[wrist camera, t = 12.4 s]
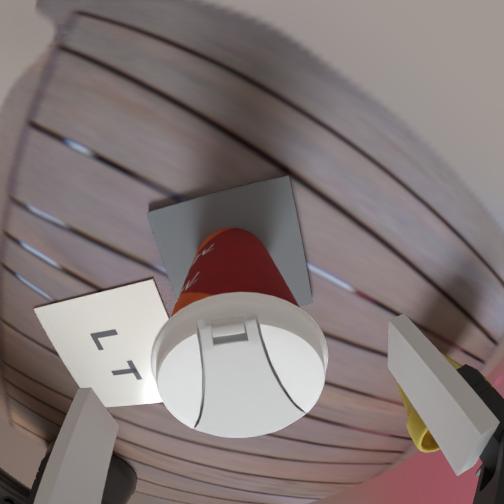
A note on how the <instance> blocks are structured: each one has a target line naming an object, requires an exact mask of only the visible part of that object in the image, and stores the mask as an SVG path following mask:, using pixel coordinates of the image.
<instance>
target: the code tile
mask: <svg viewBox="0 0 504 504" xmlns="http://www.w3.org/2000/svg"><path fill="white" fill-rule="evenodd" d="M34 311H35V313H36V315H37V317H38V319H39V320H40V322H41V324H42V326H43V328H44V330H45V332H46V333H47V335H48V337H49V339H50V341H51V342H52V344H53V346H54V347H55V349H56V351H57V352H58V354H59V356H60V357H61V359H62V361H63V362H64V364H65V365H66V367H67V369H68V370H69V372H70V373H71V375H72V376H73V378H74V379H75V381H76V382H77V384H78V385H79V387H80V388H88V387H91V388H92V389H93V391H94V392H95V393H96V395H97V396H98V398H99V399H100V401H101V402H102V403H103V405H104V406H105V407H115V406H128V405H139V404H148V403H157V402H163V401H162V399H161V397H160V395H159V392H158V389H157V384H156V382H155V380H154V377H153V374H152V371H151V362H150V358H151V349H152V346H153V343H154V340H155V337H156V336H157V334H158V332H159V331H160V329H161V327H162V326H163V325H164V324H165V323H166V322H167V320H168V319H169V317H168V315H167V312H166V310H165V307H164V305H163V302H162V300H161V297H160V295H159V292H158V290H157V287H156V285H155V282H154V279H150V280H146V281H142V282H138V283H134V284H130V285H126V286H122V287H118V288H114V289H110V290H105V291H101V292H97V293H93V294H89V295H85V296H81V297H77V298H73V299H69V300H65V301H61V302H57V303H53V304H49V305H45V306H41V307H37V308H34Z"/></svg>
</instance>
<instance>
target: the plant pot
mask: <svg viewBox="0 0 504 504" xmlns="http://www.w3.org/2000/svg"><path fill="white" fill-rule="evenodd" d="M439 352H440V351H439ZM440 353H441V354H442V355H443V356H444V357H445V358H446V359H447V361H448V362H449V363H450V364H451V365H452V366H453V367H454V368H455V369H458V368H460V367H462V365H461V364H459V363H457V362H456V361H454V360H453V359H451V358H449V357H448V356H446V355H445V354H443V353H442V352H440ZM484 378H485V377H484ZM485 380H487V379H486V378H485ZM487 381H488V380H487ZM488 382H489V381H488ZM489 383H490V382H489ZM397 384H398V382H397ZM490 384H491V383H490ZM398 387H399V390H400V393H401V396H402V399H403V402H404V405H405V409H406V412H407V415H408V420H407V429H408V432H409V434H410V436H411V438H412V440H413V441H414V443H415V445H416V446H417V448H418V449H419V450H420V451H422V452H433V451H436V450H439V449H440V447H439V445H438V444H437V442H436V441H435V439H434V437H433V436H432V434H431V433H430V431H429V430H428V428H427V426H426V425H425V423H424V422H423V420H422V419H421V417H420V415H419V414H418V412H417V411H416V409H415V408H414V406H413V405H412V403H411V402H410V400H409V399H408V397H407V396H406V394H405V393H404V391H403V390H402V388H401V387H400V385H399V384H398ZM492 387H493V386H492Z"/></svg>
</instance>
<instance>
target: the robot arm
mask: <svg viewBox="0 0 504 504" xmlns="http://www.w3.org/2000/svg"><path fill="white" fill-rule="evenodd" d="M387 367H388V369H389V370H390V372H391V373H392V375H393V376H394V378H395V379H396V381H397V382H398V384H399V385H400V387H401V388H402V390H403V391H404V393H405V394H406V396H407V397H408V399H409V400H410V402H411V403H412V405H413V406H414V408H415V409H416V411H417V412H418V414H419V415H420V417H421V419H422V420H423V422H424V423H425V425H426V426H427V428H428V430H429V431H430V433H431V434H432V436H433V437H434V439H435V441H436V442H437V444H438V445H439V447H440V449H441V450H442V452H443V454H444V455H445V457H446V458H447V460H448V462H449V463H450V465H451V467H452V468H453V470H454V471H455V473H456V475H457V476H458V475H459V474H461V473H463V472H464V471H466V470H468V469H469V468H471V467H472V466H474V465H475V463H476V462H477V460H478V459H479V458H480V459H481V461H482V462H483V463H482V465H481V466H480V468H479V469H478V470H477V472H476V475H475V476H476V477H477V476H478V475H479V474H480V476H479V481H478V485H477V489H476V493H475V497H474V500H473V504H504V399H503V398H502V396H501V395H500V394H499V393H498V392H497V391H496V390H495V389H494V387H492V385H491V384H490V383H489V382H488V381H487V380H485V378H484V376H483V375H482V374H481V373H480V372H479V371H478V370H477V369H475V368H473V367H471V366H469V365H467V364H465V365H464V366H462V367H460V368H458V369H455V368H454V367H453V366H452V365H451V364H450V363H449V362H448V361H447V359H446V358H445V357H444V356H443V355H442V354H441V353H440V352H439V351H438V349H437V348H436V347H435V346H434V345H433V344H432V343H431V342H430V341H429V340H428V339H427V338H426V336H425V335H424V334H423V333H422V332H421V331H420V330H419V329H418V328H417V327H416V326H415V325H414V324H413V323H412V322H411V321H410V320H409V319H408V317H407V316H406V315H405V314H403V315H400V316H397V317H395V318H392V319H389V332H388V365H387ZM118 428H119V425H118V424H117V422H116V421H115V420H114V418H113V417H112V416H111V414H110V413H109V412H108V410H107V409H106V408H105V406H104V405H103V403H102V402H101V401H100V399H99V398H98V396H97V395H96V393H95V392H94V391H93V389H92V388H91V387H88V388H78V391H77V393H76V395H75V397H74V399H73V402H72V404H71V406H70V409H69V411H68V413H67V415H66V418H65V420H64V422H63V425H62V427H61V430H60V432H59V435H58V437H57V439H55V440H52V441H51V442H50V444H49V446H48V448H47V451H46V454H45V457H44V458H43V460H42V461H41V464H40V467H39V469H38V470H39V472H37V475H36V479H35V480H34V483H33V486H32V489H30V488H29V487H27V486H25V485H24V484H23V483H21V482H20V481H18V480H17V479H15V478H14V477H13V476H11V475H10V474H8V473H7V472H6V471H4V470H3V469H2V468H1V467H0V504H127V503H128V501H129V499H130V497H131V496H132V495H133V493H134V492H135V489H136V483H137V476H136V474H135V472H134V471H133V470H132V469H131V468H130V467H129V466H128V465H127V464H126V463H125V462H123V461H122V460H120V459H119V458H117V457H116V456H114V455H112V452H113V448H114V444H115V440H116V436H117V432H118Z"/></svg>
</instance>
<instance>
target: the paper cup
mask: <svg viewBox="0 0 504 504" xmlns="http://www.w3.org/2000/svg"><path fill="white" fill-rule="evenodd" d="M150 362H151V371H152V374H153V377H154V380H155V382H156V384H157V389H158V392H159V395H160V397H161V399H162V401H163V403H164V404H165V406H166V408H167V409H168V410H169V411H170V412H171V414H172V415H173V416H175V417H176V418H177V419H178V420H179V421H181V422H182V423H184V424H185V425H187V426H188V427H190V428H192V429H195V430H198V431H201V432H205V433H208V434H212V435H216V436H220V437H228V438H245V437H254V436H259V435H265V434H268V433H272V432H275V431H277V430H280V429H282V428H284V427H286V426H288V425H290V424H291V423H293V422H295V421H296V420H298V419H299V418H301V417H302V416H304V415H305V414H306V413H307V412H309V411H310V409H311V408H312V407H313V406H314V404H315V403H316V402H317V400H318V398H319V396H320V395H321V392H322V389H323V386H324V382H325V371H326V368H327V363H328V348H327V343H326V340H325V337H324V334H323V333H322V331H321V329H320V327H319V326H318V324H317V323H316V322H315V321H314V320H313V318H312V317H311V316H310V315H309V314H307V313H306V312H305V311H303V310H302V309H301V308H300V307H299V305H298V303H297V301H296V300H295V298H294V296H293V294H292V292H291V291H290V289H289V287H288V285H287V284H286V282H285V280H284V278H283V277H282V275H281V273H280V271H279V270H278V268H277V266H276V265H275V263H274V261H273V259H272V258H271V256H270V254H269V253H268V251H267V250H266V248H265V246H264V245H263V244H262V242H261V241H260V240H259V239H258V238H257V237H256V236H255V235H254V234H252V233H250V232H249V231H246V230H244V229H240V228H224V229H220V230H218V231H215V232H214V233H212V234H211V235H209V236H208V237H207V238H206V239H205V240H204V241H203V242H202V244H201V245H200V247H199V249H198V251H197V253H196V255H195V257H194V260H193V262H192V264H191V267H190V269H189V272H188V274H187V277H186V279H185V282H184V284H183V287H182V289H181V292H180V294H179V297H178V300H177V302H176V305H175V307H174V310H173V313H172V315H171V317H170V318H169V319H168V320H167V322H166V323H165V324H164V325H163V326H162V327H161V329H160V331H159V332H158V334H157V336H156V337H155V340H154V343H153V346H152V349H151V358H150ZM305 412H306V413H305Z"/></svg>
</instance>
